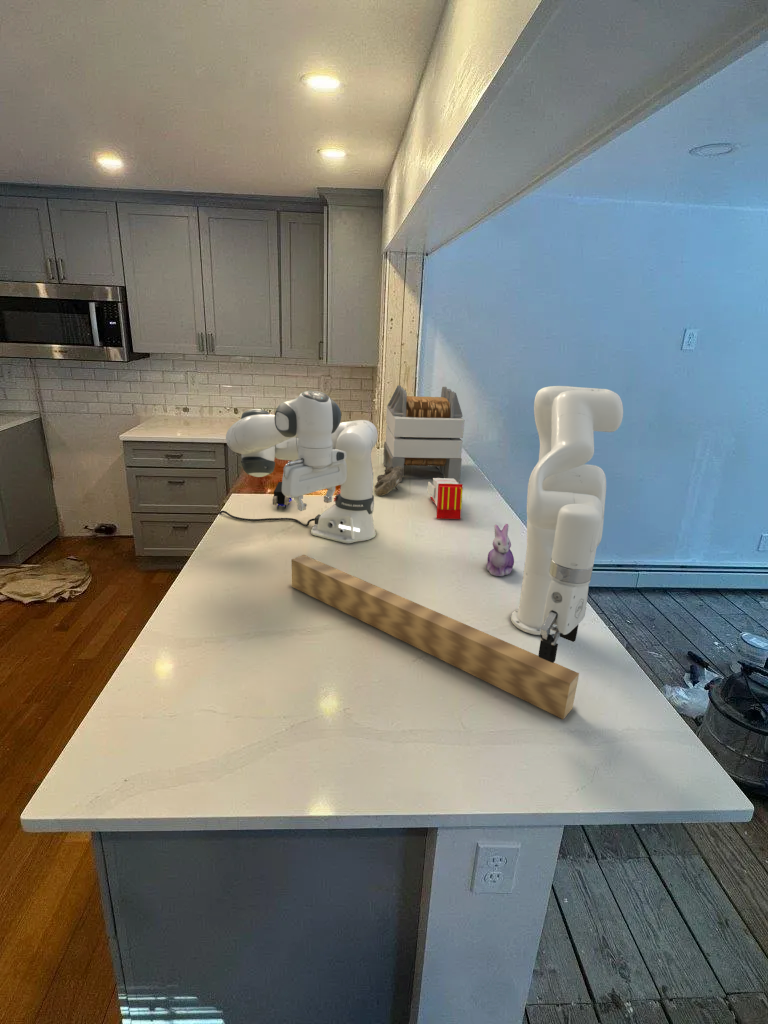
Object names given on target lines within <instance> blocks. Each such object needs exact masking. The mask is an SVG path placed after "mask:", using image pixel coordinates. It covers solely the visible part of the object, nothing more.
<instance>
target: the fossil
mask: <svg viewBox="0 0 768 1024" xmlns="http://www.w3.org/2000/svg"><path fill="white" fill-rule="evenodd" d="M404 475H405V469H404V468H402V467H400V466H396V467H395V468H393V467H387V466H385V469H384V474H378V475H377V476H376V481H377V482H376V483H375V485H374V492H375V495H376V496H379V497H381V496H384V495H387V494H389V493H390V492H391V491H393V489H396V491H398V488H397V486H398V484H399V483H400V482H399V481H401V480H402V481H403V478H404Z"/></svg>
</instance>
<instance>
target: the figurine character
mask: <svg viewBox="0 0 768 1024" xmlns="http://www.w3.org/2000/svg"><path fill="white" fill-rule="evenodd" d="M292 501H293V498H290V497H287V496H285V495H284V494H283V493H282V481H278V483H277V485H276V486H275V488H274V490H273V496H272V505H273V506H276V509H277V510H278V509H279V508H280V507H283V509H284V510H286V509H287V506H289V505H290V503H291V502H292Z"/></svg>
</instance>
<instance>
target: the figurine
mask: <svg viewBox="0 0 768 1024" xmlns="http://www.w3.org/2000/svg"><path fill="white" fill-rule="evenodd" d="M493 527H494V528H493V529H494V538H493V540H492V547H493V548H492V549H491V550H490V551H489V552H488V553H487V562H486V570H487V571H488V572H489V574H490V575H492V576H495V577H504V576H507V575H510V574H511V573H512V571H513V567H514V564H515V559H514V558H515V557H514V554H513V551H512V550H511V547H512V542H511V539H510V537H509V535H508V533H509V527H510V526H509V523H505V524H504V526H503V527H502V529H501V528H500V527H499V525H498V524H494V526H493Z"/></svg>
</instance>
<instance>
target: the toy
mask: <svg viewBox="0 0 768 1024" xmlns="http://www.w3.org/2000/svg"><path fill="white" fill-rule="evenodd" d="M463 485H464V484H463V483H460V482H459V483H458V482H457V481H456V480H455V479H454V478H444V477H432V482H431V481H428V482H427V493H428V494H429V498H430V500H431V501H432V502H433V504H435V506H436V519H437V520H461V518H462V516H461V515H462V507H463V490H464V487H463Z"/></svg>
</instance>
